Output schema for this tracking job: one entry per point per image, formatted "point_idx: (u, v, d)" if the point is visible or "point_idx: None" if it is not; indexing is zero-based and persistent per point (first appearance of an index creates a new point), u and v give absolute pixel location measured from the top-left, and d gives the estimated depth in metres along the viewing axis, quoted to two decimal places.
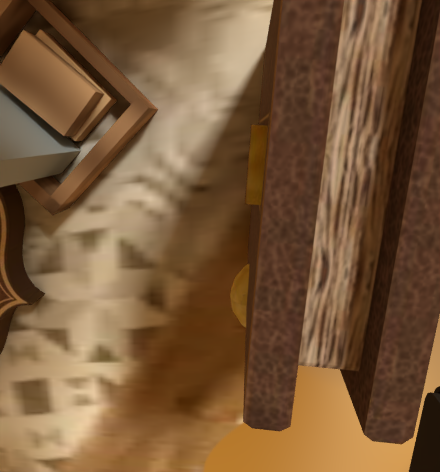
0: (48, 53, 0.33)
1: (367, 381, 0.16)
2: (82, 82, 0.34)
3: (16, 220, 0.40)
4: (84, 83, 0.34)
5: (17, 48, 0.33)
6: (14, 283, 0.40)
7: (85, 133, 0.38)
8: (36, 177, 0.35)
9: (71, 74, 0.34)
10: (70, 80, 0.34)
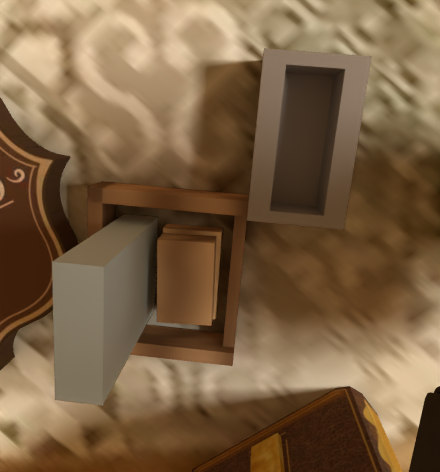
0: (211, 273, 0.34)
1: None
2: (210, 312, 0.35)
3: None
4: (210, 314, 0.35)
5: (196, 246, 0.33)
6: (1, 346, 0.39)
7: None
8: None
9: (209, 300, 0.35)
10: (204, 302, 0.35)
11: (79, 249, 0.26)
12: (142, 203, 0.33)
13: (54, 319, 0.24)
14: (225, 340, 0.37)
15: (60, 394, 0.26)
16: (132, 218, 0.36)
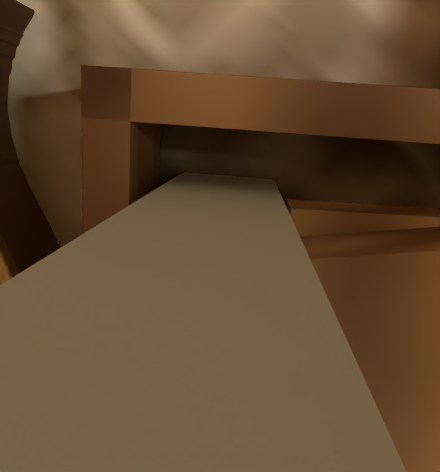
0: None
1: None
2: None
3: None
4: None
5: (425, 267, 0.10)
6: None
7: None
8: None
9: None
10: None
11: None
12: (265, 119, 0.10)
13: None
14: None
15: None
16: (213, 180, 0.12)
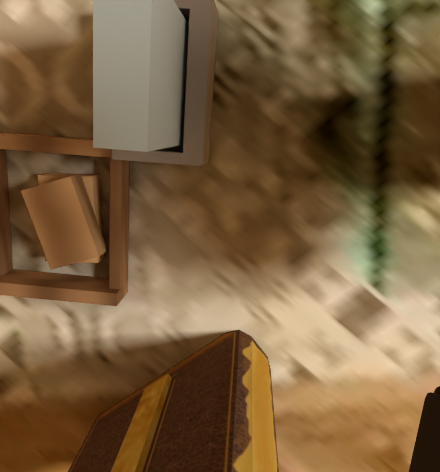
0: (79, 206, 0.35)
1: None
2: (92, 243, 0.36)
3: None
4: (93, 245, 0.36)
5: (56, 185, 0.35)
6: None
7: None
8: None
9: (87, 232, 0.36)
10: (83, 236, 0.36)
11: None
12: (19, 147, 0.35)
13: (93, 39, 0.21)
14: (111, 282, 0.38)
15: (99, 140, 0.23)
16: None
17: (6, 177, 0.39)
